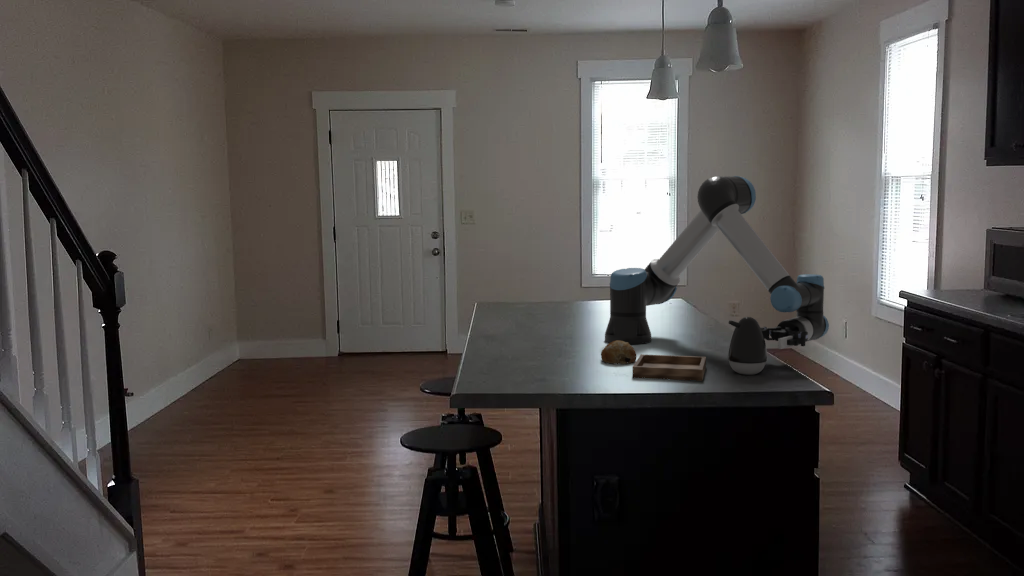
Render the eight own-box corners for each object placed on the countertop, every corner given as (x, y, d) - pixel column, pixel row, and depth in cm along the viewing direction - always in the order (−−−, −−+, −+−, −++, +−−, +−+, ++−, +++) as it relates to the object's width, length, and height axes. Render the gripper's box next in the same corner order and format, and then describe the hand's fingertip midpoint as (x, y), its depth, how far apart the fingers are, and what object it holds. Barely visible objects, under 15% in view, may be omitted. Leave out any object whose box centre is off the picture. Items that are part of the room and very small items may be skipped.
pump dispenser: (721, 369, 242) (722, 314, 240) (758, 368, 243) (759, 313, 241) (734, 377, 232) (735, 320, 230) (772, 376, 233) (773, 319, 231)
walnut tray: (632, 377, 233) (632, 366, 232) (640, 364, 250) (640, 354, 250) (702, 381, 228) (702, 369, 228) (705, 367, 245) (706, 356, 245)
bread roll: (609, 377, 251) (616, 354, 247) (591, 357, 259) (598, 334, 255) (638, 373, 256) (645, 351, 252) (619, 353, 263) (626, 331, 260)
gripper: (835, 349, 245) (799, 360, 230) (754, 339, 263) (715, 349, 248) (836, 322, 245) (799, 332, 230) (754, 314, 262) (716, 322, 247)
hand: (756, 341), depth 239 cm, fingers open, 13 cm apart
